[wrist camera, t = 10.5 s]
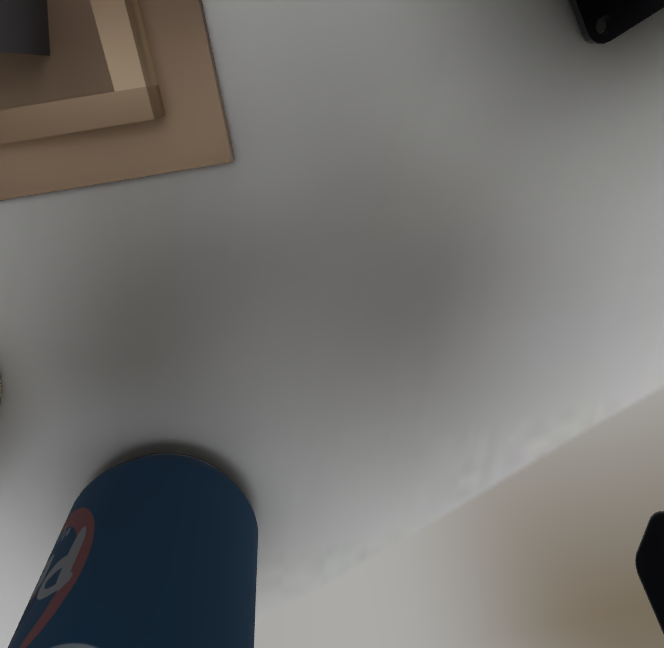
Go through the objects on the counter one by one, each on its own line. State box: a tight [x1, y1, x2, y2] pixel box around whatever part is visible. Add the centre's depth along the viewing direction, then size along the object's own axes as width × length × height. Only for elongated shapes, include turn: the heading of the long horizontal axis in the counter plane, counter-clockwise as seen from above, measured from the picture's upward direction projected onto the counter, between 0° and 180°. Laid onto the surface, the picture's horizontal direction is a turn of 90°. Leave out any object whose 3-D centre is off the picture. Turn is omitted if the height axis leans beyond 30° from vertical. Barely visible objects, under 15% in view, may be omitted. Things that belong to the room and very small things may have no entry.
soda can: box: [8, 453, 258, 648], centre depth 18 cm, size 7×7×12 cm
